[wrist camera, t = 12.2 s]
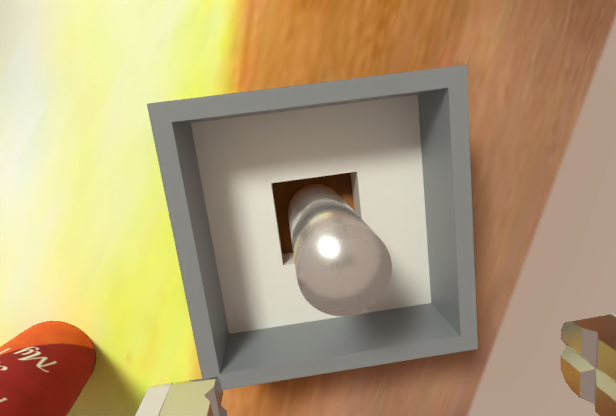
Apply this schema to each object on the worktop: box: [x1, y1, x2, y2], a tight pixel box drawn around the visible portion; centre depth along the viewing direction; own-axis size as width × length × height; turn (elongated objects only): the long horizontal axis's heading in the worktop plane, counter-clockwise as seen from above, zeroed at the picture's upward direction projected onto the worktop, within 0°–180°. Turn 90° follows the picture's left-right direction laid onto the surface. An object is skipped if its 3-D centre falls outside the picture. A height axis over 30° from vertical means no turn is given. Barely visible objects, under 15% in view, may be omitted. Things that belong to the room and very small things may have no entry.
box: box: [147, 65, 478, 390], centre depth 25 cm, size 16×16×7 cm
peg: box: [288, 184, 392, 316], centre depth 22 cm, size 4×4×12 cm
